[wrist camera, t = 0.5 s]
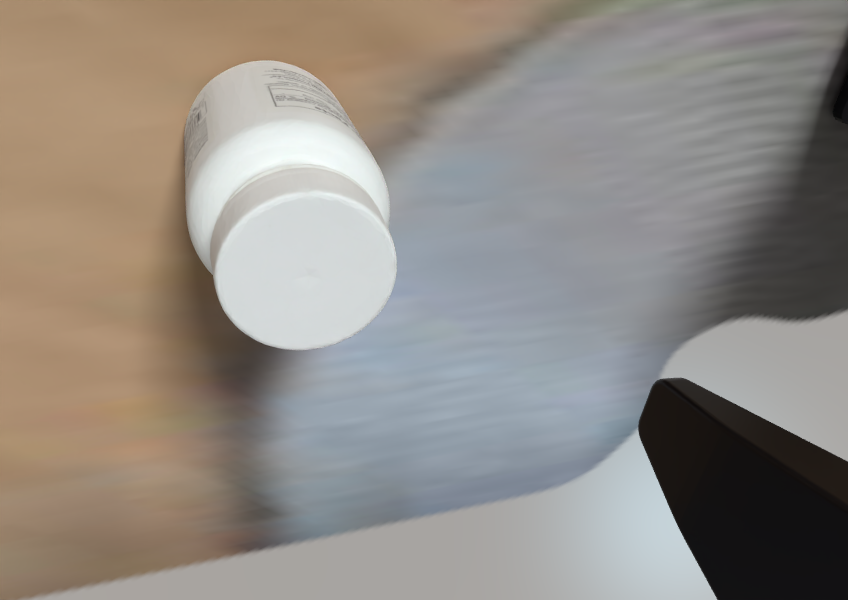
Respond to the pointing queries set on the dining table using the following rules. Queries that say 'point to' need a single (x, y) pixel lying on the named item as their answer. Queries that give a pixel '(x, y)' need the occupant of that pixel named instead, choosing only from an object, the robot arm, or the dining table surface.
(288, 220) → the pill bottle
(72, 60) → the dining table surface
